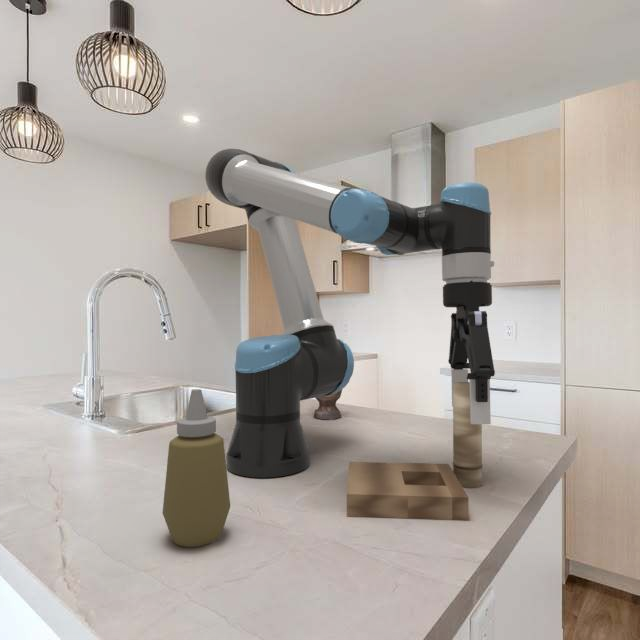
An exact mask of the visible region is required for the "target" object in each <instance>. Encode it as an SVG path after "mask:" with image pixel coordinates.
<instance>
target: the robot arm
mask: <svg viewBox="0 0 640 640" xmlns="http://www.w3.org/2000/svg"><path fill="white" fill-rule="evenodd" d="M205 182H206V183H205V184H206V185H207V188H208V190H209V192H210V194H212V195H213V197H214V198H215V199H217V200H218V201H220V202H222V203H223V204H225V205H228V206H231V207H235V208H238V209H242V210H244V211H245V213H246V217H247V221H248V225H249V226H250V227H251V228H253V229H254V230H256V231H257V232H258V234H259V235H258V236H259V239H260V243H261V246H262V251H263V255H264V258H265V263H266V265H267V270H268V274H269V276H270V281H271V284H272V287H273V292H274V295H275V299H276V303H277V308H278V310H279V314H280V318H281V322H282V325H283V329H284V332H283V333H282V334H273V335H272V334H271V335H263V336H257V337H252V338H248V339H246V340H243V341H241V342H240V343H239V344H238V346H237V348H236V351H235V352H236V354H235V362H234V370H235V371H234V372H235V425H234V430H233V433H232V434H231V435H232V436H231V439H230V441H229V445H228V448H227V451H226V455H225V460H226V469H227V471H229V472H231V473H233V474H235V475H238V476H242V477H246V478H247V477H248V478H277V477H284V476H285V477H286V476H289V475H290V476H291V475H293V474H297V473H300V472H302V471H304V470H306V469H307V468H308V467H309V466H310V463H311V462H310V461H311V460H310V459H311V457H310V454H311V453H310V448H309V445H308V441H307V439H306V435H305V433H304V430H303V426H302V424H301V401H305V400H309V399H316V398H315V397H320V396H321V397H325V396H328V395H331V394H333V393H336V392H338V391H340V390H342V391H343V389H344V388H345V387H346V386H348V384H349V383H350V380H351V378H352V377H353V373H354V369H355V359H354V354H353V351H352V349H351V348H350V346H349V345H348V344H347V342H346V343H345V342H344V340H342V339H340V338H337V335H336V331H335V328H334V327H335V326H334V325H333V324H332V323H330V322H328V321H327V320H325V319H324V315H323V313H322V309H321V306H320V302H319V298H318V294H317V291H316V288H315V284H314V281H313V276H312V274H311V270H310V268H309V263H308V260H307V257H306V253H305V249H304V246H303V242H302V240H301V235H300V232H299V229H298V224H297V222H296V221H299V222H302V223H305V224H308V225H310V226H312V227H316V228H319V229H322V230H325V231H328V232H331V233H334V234H336V235H339V236H340V237H341V238H344V239H346V240H347V241H350V242H354V243H357V244H365V245H366V244H367V245H371V246H375V247H376V248H377V249H378V250H379V251H380V253H381V254H382V255H386V256H391V255H392V256H394V255H395V256H396V255H398V256H404V255H405V254H411V253H412V254H413V253H419V252H424V251H433V250H434V251H435V250H441V273H442V274H441V275H442V277H441V278H442V281H443V282H445V284H444V285H443V286H442V305H443V306H444V307H445V308H456V312H452V313H451V315H450V319H451V322H450V323H451V327H450V328H451V330H450V339H449V353H448V359H447V360H448V364H449V365H450V366H449V367H450V368H451V371H450V372H451V407H452V408H453V383H455V382H469V383H470V423H471V424H482V425H491V424H492V422H491V419H492V418H491V382H490V381H491V379H492V377H494V376H495V375H496V374H495V373H496V370H495V367H494V360H493V355H492V354H493V353H492V347H491V341H490V335H489V328H488V314H487V311H486V310H485V311H484V310H483V311H481V310H480V307H481V308H482V307H490V306H491V305H492V304H493V286H492V284H491V282H488V280H490V279H491V278H492V268H493V267H495V262H494V261H493V260H491V259H492V257H491V253H492V250H491V249H492V248H491V215H492V212H491V207H490V205H491V204H490V195H489V194H490V193H489V189H488V188H487V187H486V186H485V185H483V184H482V183H478V182H460V183H456V184H455V183H454V184H451V185H450V186H446V187H444V188H443V189H442V191H441V193H440V199H439V202H436V203H434V204H430V205H423V206H418V207H410V206H407V205H405V204H402V203H400V202H397V201H394V200H391V199H388V198H386V197H383V196H381V195H379V194H378V193H376V192H373V191H370V190H368V189H363V188H351V187H349V186H346V185H341V184H338V183H334V182H331V181H326V180H322V179H319V178H316V177H311V176H308V175H302V174H299V173H296V172H295V170H293V169H292V168H291V167H289V166H286V165H285V164H284V163H280V162H277V161H273V160H269V159H267V158H265V157H261V156H259V155H256V154H253V153H251V152H248V151H246V150H243V149H239V148H226V149H221V150H219V151H218V152H216V153H214V155H213V156H212V157H211V158H210V159H209V161H208V162H207V165H206V168H205ZM469 371H470V372H469Z"/></svg>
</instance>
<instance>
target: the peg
mask: <svg viewBox="0 0 640 640" xmlns="http://www.w3.org/2000/svg"><path fill="white" fill-rule="evenodd" d="M482 428H483V424H471V423H470V383H469V381H468V382H455V383H453V407H452V430H453V431H452V442H453V443H452V447H453V448H452V451H453V452H452V458H453V459H452V471H453V472H454V474H455V476H456V477H457V479H458V481H459V482H460V484H461V486H462V487H463V488H465V489H477V488H481V487H482V486H483V443H482V442H483V437H482V436H483V434H482V433H483V429H482Z"/></svg>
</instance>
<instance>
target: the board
mask: <svg viewBox="0 0 640 640" xmlns="http://www.w3.org/2000/svg"><path fill="white" fill-rule="evenodd" d="M347 475H348V476H347V486H346V487H347V489H346V517H355V518H357V517H358V518H359V517H360V518H387V519H391V518H392V519H416V520H417V519H420V520H421V519H422V520H446V521H447V520H449V521H470V520H469V518H470V516H469V514H470V513H469V511H470V510H469V506H470V505H469V495H467V493H466V491H465V489H464V487H462V486H461V484H460V482H459V481H458V479H457V477H456V476H455V474H454V472H453V468H452V467H451V466H450V464H449V463H425V462H424V463H422V462H420V463H419V462H384V461H382V462H377V461H376V462H375V461H349V462H348V474H347Z"/></svg>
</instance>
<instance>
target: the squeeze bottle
mask: <svg viewBox="0 0 640 640" xmlns="http://www.w3.org/2000/svg"><path fill="white" fill-rule="evenodd" d="M205 404H206V403H205V400H204V396H203V391H202V388H201V389H200V388H199V389H191V392H190V395H189V401H188V405H187V410H186V414H185V417H182V418H180V419H178V420H177V421H176V434H177V436H175V437H174V438H173V439H171V440H170V441H169V444H168V451H167V452H168V454H167V464H166V471H165V472H166V473H165V483H164V491H163V492H164V494H163V504H162V515H163V518H164V521H165V524H166V527H167V529H168V531H169V534H170V536H171V540H172V541H173V542H174V544H175V545H178V546H180V547H188V548H193V547H194V548H195V547H203V546H205V545H209V544H212V543H213V542H215V541H217V540H218V539H220V537H221V536H222V535H223V531H224V528H225V524H226V522H227V519H228V515H229V512H230V509H231V498H230V489H229V481H228V479H229V478H228V469H227V466H226V452H225V444H224V442H225V441H224V438H223V437H222V435H220V434H218V433H216V431H217V425H216V424H217V423H216V422H217V419H216V418H215V417H213V416H208V414H207V410H206V405H205Z"/></svg>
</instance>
